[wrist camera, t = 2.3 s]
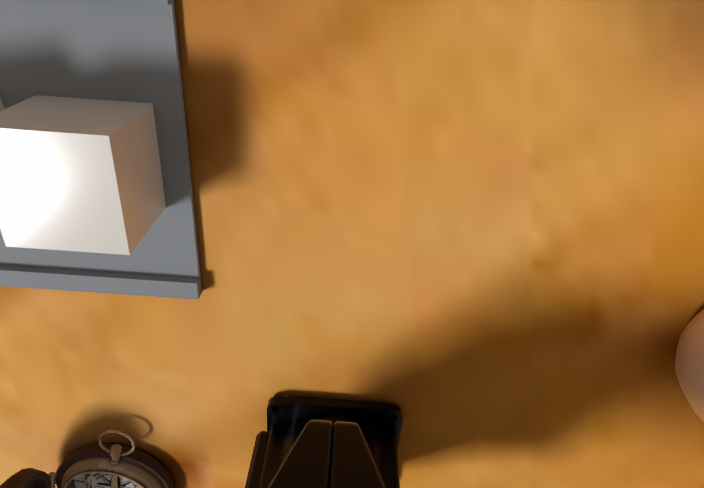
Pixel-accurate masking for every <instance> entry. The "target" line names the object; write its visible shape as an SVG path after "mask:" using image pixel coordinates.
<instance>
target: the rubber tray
mask: <svg viewBox="0 0 704 488" xmlns="http://www.w3.org/2000/svg"><path fill="white" fill-rule="evenodd" d="M35 95H42V96H56V97H70V98H84V99H98V100H112V101H125V102H139V103H153V109H154V117H155V125H156V133H157V141H158V148H159V156H160V164H161V172H162V180H163V187H164V195H165V203H166V209H165V210H164V211H163V212H162V214H161V215H160V216H159V218H158V219H157V220H156V222H155V223H154V224H153V225H152V227H151V228H150V229H149V231H148V232H147V233H146V235H145V236H144V237H143V238H142V240H141V241H140V242H139V244H138V245H137V246H136V248H135V249H134V250H133V251H132V253H131V254H130V255H122V254H107V253H93V252H78V251H64V250H49V249H35V248H20V247H6V245H5V242H4V238H3V235H2V232H1V229H0V286H9V287H24V288H39V289H53V290H68V291H83V292H97V293H112V294H126V295H141V296H156V297H170V298H185V299H199V297H200V295H201V293H202V283H201V272H200V262H199V252H198V242H197V231H196V221H195V211H194V201H193V190H192V180H191V170H190V160H189V149H188V139H187V129H186V119H185V108H184V98H183V88H182V78H181V67H180V57H179V47H178V37H177V26H176V16H175V6H174V0H0V99H1V101H2V103H3V105H4V108H5V109H7V108H9V107H11V106H13V105H15V104H18V103H20V102H22V101H24V100H26V99H29V98H31V97H33V96H35Z"/></svg>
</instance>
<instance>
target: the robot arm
mask: <svg viewBox="0 0 704 488" xmlns="http://www.w3.org/2000/svg"><path fill="white" fill-rule="evenodd" d="M276 406H279V407H276ZM390 414H394V415H390ZM402 419H403V417H402V409H401V407H400V406H398V405H396V404H388V403H373V402H358V401H343V400H328V399H313V398H298V397H283V396H275V397H272V398H271V399H270V400H269V402H268V407H267V431H261V432H260V433H259V434H258V435H257V437H256V441H255V446H254V450H253V455H252V459H251V463H250V468H249V472H248V477H247V481H246V486H245V488H400V482H399V465H398V443H399V437H400V431H401V425H402Z"/></svg>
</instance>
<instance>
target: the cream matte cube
mask: <svg viewBox="0 0 704 488" xmlns="http://www.w3.org/2000/svg"><path fill="white" fill-rule="evenodd" d="M165 209H166V203H165V195H164V187H163V180H162V172H161V164H160V156H159V148H158V141H157V133H156V125H155V117H154V109H153V103H139V102H125V101H112V100H98V99H84V98H70V97H56V96H42V95H35V96H33V97H31V98H29V99H26V100H24V101H22V102H20V103H18V104H15V105H13V106H11V107H9V108H7V109H4V110H2V111H0V229H1V232H2V235H3V238H4V242H5V245H6V247H20V248H35V249H49V250H64V251H78V252H93V253H107V254H122V255H130V254H131V253H132V251H133V250H134V249H135V248H136V246H137V245H138V244H139V242H140V241H141V240H142V238H143V237H144V236H145V235H146V233H147V232H148V231H149V229H150V228H151V227H152V225H153V224H154V223H155V222H156V220H157V219H158V218H159V216H160V215H161V214H162V212H163V211H164V210H165Z"/></svg>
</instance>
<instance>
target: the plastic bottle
mask: <svg viewBox="0 0 704 488" xmlns="http://www.w3.org/2000/svg"><path fill="white" fill-rule="evenodd" d="M675 372H676V376H677V379H678V381H679V383H680V386H681V388H682V390H683V392H684V394H685V396H686V399H687V401H688V403H689V405H690V406H691V408H692V410H693V411H694V412H695V414H696V415H697V416H698V417H699V418H700V419H701V420H702V421H703V422H704V309H703V310H702V311H700V312H699V313H698V314H697V315H696V316H695V317H694V318H693V319H692V320H691V321H690V322H689V324H688V325H687V326H686V328H685V329H684V331H683V333H682V334H681V336H680V339H679V342H678V345H677V351H676V357H675Z"/></svg>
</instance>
